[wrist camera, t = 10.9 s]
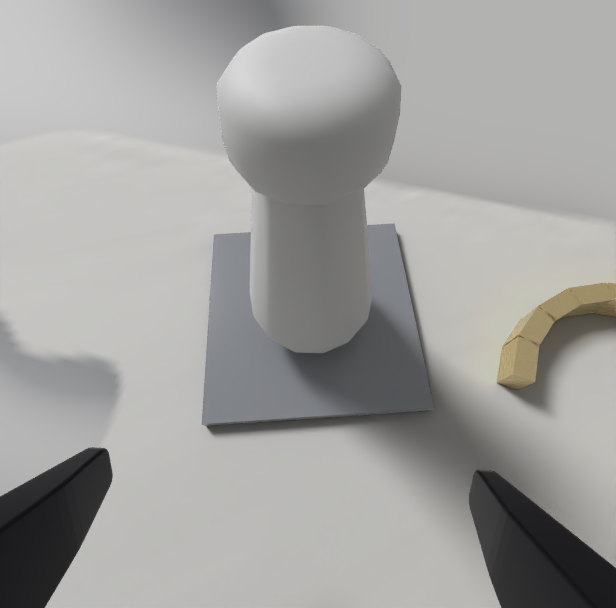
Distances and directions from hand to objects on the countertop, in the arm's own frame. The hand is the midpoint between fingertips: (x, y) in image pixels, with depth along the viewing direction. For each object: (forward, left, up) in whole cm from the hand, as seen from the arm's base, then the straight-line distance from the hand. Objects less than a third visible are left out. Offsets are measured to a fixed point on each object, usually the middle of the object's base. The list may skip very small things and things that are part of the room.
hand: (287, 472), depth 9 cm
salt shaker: (+8, -1, -8) cm, 11 cm away
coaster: (+8, -1, -8) cm, 12 cm away
